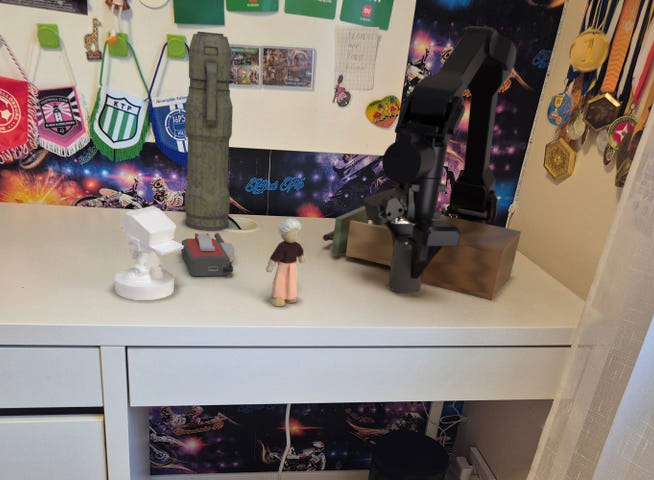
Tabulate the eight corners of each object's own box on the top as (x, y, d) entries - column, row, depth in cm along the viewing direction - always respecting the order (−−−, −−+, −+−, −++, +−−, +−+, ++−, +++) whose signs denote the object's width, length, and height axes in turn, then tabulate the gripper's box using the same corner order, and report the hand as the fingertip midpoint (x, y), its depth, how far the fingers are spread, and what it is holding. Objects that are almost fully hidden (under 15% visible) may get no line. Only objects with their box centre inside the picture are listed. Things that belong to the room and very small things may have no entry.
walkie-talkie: (244, 278, 104) (222, 242, 121) (246, 252, 102) (222, 218, 119) (190, 279, 101) (175, 242, 118) (190, 252, 99) (175, 218, 116)
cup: (394, 279, 109) (401, 233, 105) (424, 286, 107) (433, 240, 103) (382, 288, 104) (390, 240, 101) (414, 296, 102) (422, 247, 99)
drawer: (313, 250, 118) (316, 213, 115) (343, 235, 129) (347, 201, 126) (411, 274, 111) (418, 235, 108) (435, 256, 121) (441, 220, 118)
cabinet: (397, 276, 111) (404, 228, 108) (423, 257, 123) (431, 213, 119) (491, 300, 105) (503, 249, 101) (510, 277, 117) (521, 231, 113)
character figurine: (144, 275, 101) (142, 199, 96) (191, 290, 97) (192, 212, 92) (102, 290, 94) (97, 209, 89) (151, 306, 90) (149, 223, 85)
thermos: (190, 233, 124) (191, 31, 108) (180, 216, 134) (180, 29, 118) (234, 232, 127) (242, 35, 111) (222, 216, 137) (227, 34, 121)
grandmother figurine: (281, 311, 93) (288, 225, 87) (259, 304, 95) (265, 219, 89) (308, 297, 99) (316, 216, 93) (288, 290, 101) (294, 210, 95)
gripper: (352, 161, 103) (341, 254, 110) (400, 187, 87) (384, 294, 94) (414, 163, 106) (399, 254, 113) (472, 189, 90) (451, 292, 97)
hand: (406, 272), depth 104 cm, fingers closed on cup, 5 cm apart
